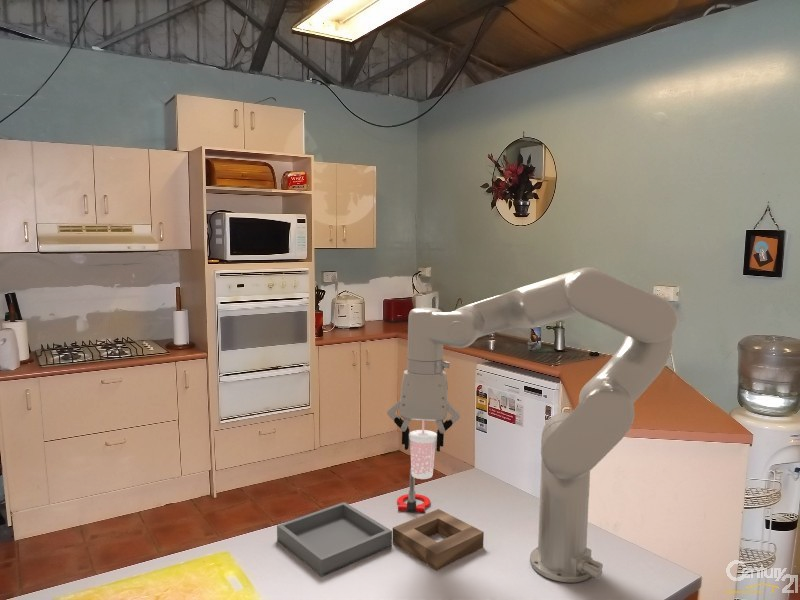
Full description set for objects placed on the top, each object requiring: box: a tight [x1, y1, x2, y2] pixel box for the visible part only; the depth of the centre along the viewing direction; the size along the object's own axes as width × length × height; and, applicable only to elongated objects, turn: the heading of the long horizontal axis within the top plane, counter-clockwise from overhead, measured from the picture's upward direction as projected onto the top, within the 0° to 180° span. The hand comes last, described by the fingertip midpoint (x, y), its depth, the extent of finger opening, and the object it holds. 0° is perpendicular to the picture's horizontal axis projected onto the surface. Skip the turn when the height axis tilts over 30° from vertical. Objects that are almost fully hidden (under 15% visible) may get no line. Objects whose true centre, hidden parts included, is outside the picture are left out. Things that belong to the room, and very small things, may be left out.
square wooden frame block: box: [392, 508, 484, 572], centre depth 126 cm, size 14×14×4 cm
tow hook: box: [396, 467, 431, 514], centre depth 146 cm, size 8×13×9 cm
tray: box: [276, 501, 393, 578], centre depth 127 cm, size 18×18×4 cm
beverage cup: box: [409, 420, 437, 480], centre depth 124 cm, size 6×6×14 cm
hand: (422, 447), depth 124 cm, fingers closed on beverage cup, 6 cm apart
